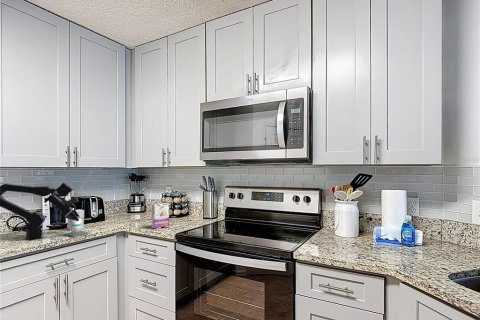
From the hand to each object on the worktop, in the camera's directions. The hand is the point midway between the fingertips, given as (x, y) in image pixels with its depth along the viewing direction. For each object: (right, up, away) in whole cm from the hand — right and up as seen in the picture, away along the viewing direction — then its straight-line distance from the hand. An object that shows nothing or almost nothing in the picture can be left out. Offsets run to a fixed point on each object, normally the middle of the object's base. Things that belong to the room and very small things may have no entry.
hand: (79, 219), depth 168 cm
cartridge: (-1, -8, -1) cm, 8 cm away
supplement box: (-12, -10, +16) cm, 22 cm away
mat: (-1, -9, -1) cm, 9 cm away
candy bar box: (+44, -11, +21) cm, 50 cm away
